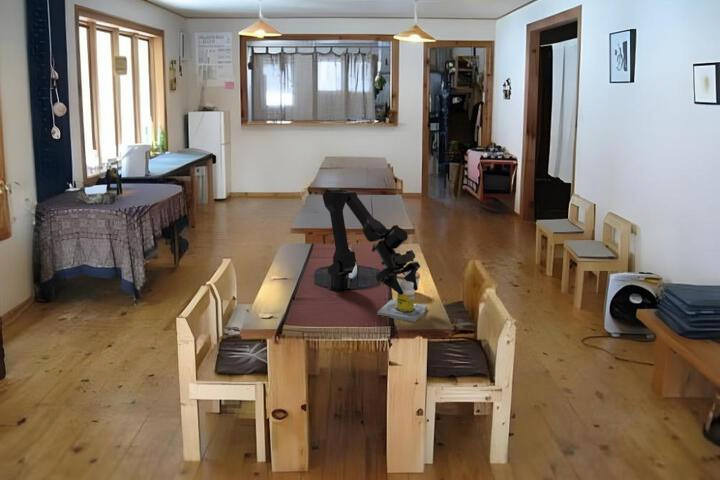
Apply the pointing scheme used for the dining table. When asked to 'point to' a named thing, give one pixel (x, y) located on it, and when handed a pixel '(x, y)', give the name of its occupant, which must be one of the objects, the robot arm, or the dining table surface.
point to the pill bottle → (406, 298)
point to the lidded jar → (401, 278)
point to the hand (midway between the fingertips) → (409, 292)
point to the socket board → (393, 313)
